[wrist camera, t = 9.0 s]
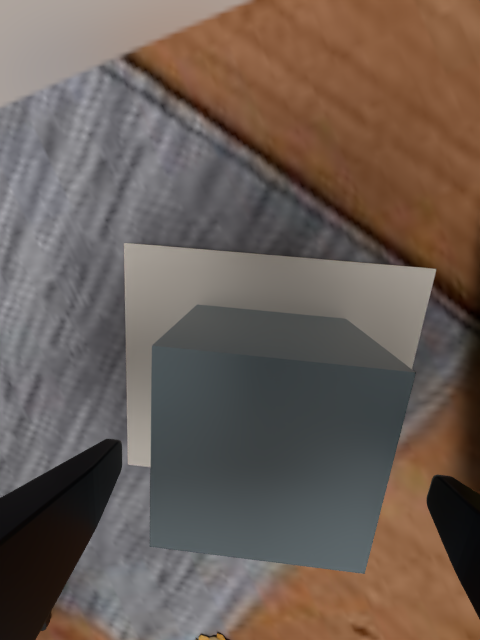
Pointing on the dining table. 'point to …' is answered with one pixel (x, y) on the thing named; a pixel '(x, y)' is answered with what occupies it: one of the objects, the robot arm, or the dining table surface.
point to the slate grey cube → (272, 436)
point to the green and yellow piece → (218, 639)
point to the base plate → (257, 305)
